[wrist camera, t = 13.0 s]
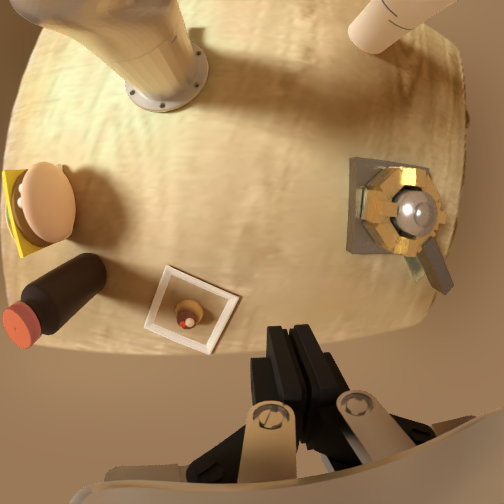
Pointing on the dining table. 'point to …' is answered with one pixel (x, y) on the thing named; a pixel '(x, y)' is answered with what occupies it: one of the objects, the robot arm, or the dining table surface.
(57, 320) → the bottle
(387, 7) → the cylindrical container
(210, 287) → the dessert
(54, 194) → the hamburger
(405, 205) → the housing
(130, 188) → the dining table surface
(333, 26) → the dining table surface
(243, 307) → the dining table surface
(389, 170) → the ring nut
